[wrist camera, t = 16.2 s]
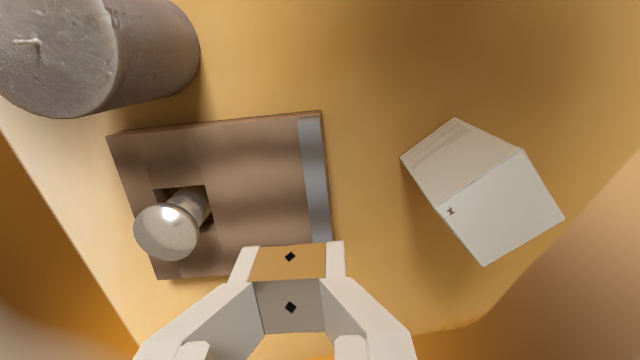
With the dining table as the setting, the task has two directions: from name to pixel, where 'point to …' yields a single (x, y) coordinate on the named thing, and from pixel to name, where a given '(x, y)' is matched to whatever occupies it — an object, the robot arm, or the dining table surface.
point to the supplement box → (482, 189)
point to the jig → (233, 183)
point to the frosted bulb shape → (173, 224)
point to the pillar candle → (93, 54)
